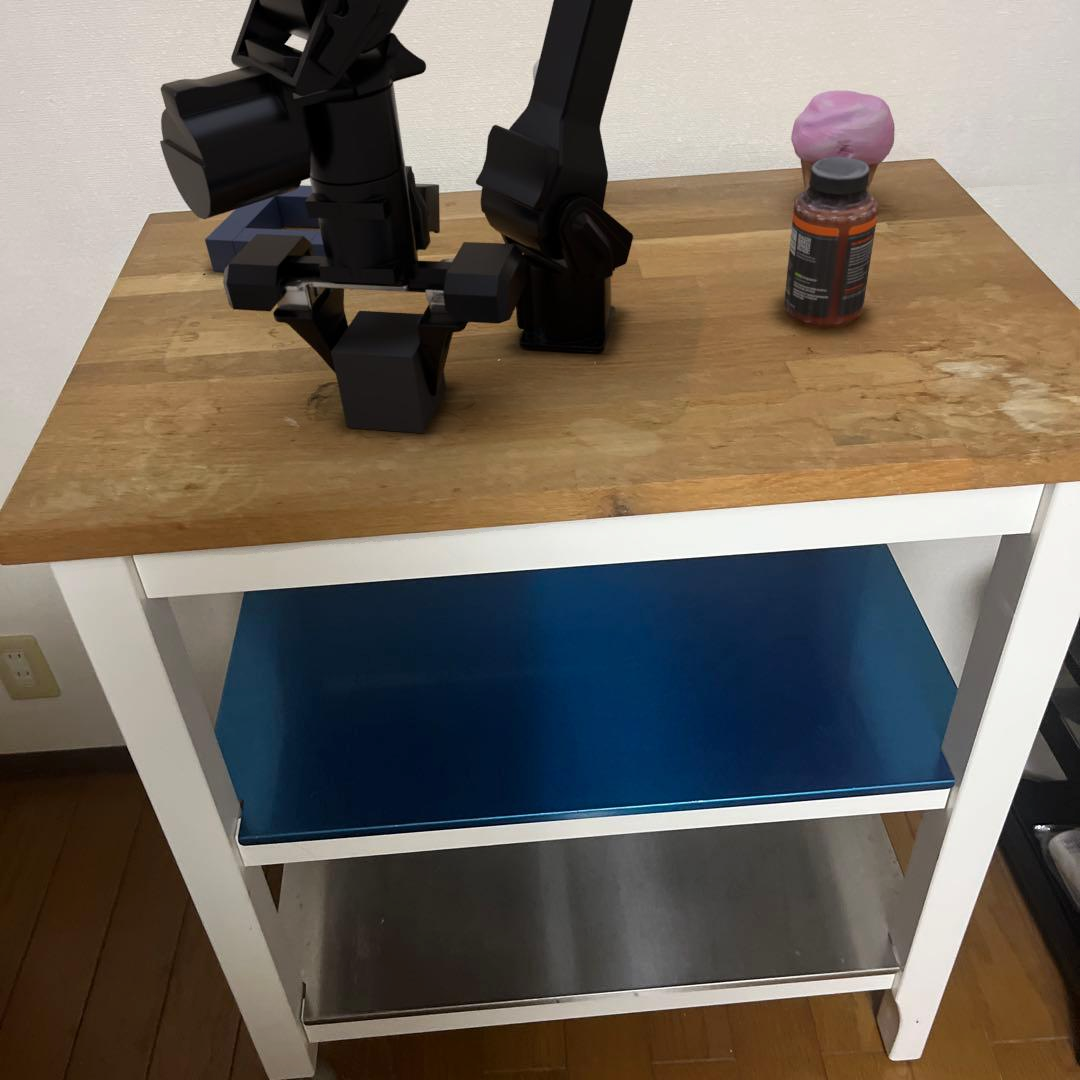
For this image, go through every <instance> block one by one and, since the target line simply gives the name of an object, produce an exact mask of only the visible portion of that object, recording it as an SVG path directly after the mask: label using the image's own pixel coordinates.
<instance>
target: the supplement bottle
mask: <svg viewBox="0 0 1080 1080" xmlns="http://www.w3.org/2000/svg"><path fill="white" fill-rule="evenodd" d="M869 172H870V169H869V166H868V165H867V164H866V163H864V162H862V161H860V160H857V159H853V158H845V157H834V158H826V159H823V160H820V161H818V162H816V163H815V164H814V165H812V169H811V177H810V182H809V184H810V187H809V188H808V189H807V190H806V191H805V190H804V191H802V192H801V193H800V194H799V195H798V197H797V198H796V200H795V202H794V205H793V211H792V221H791V229H790V230H791V231H790V239H789V241H790V242H789V250H788V259H787V260H788V261H787V268H786V269H787V271H786V280H785V289H784V302H783V304H784V305H783V307H784V310H785V313H786V314H787V316H789V317H790V318H791V319H792V320H794V321H795V322H797V323H800V324H803V325H805V326H811V327H815V328H835V327H842V326H845V325H847V324H849V323H852V322H854V321H855V320H857V319H858V318H859V317H860V315H861V314H862V312H863V308H864V303H865V298H866V291H867V286H868V285H867V284H868V278H869V271H870V266H871V265H870V264H871V260H872V252H873V246H874V240H875V232H876V227H877V219H878V210H879V207H878V201H877V200H876V198H875V196H874V195H873V194H872V193H871V192H869V190H868V191H866V188H867V186H868V184H869V182H868V178H869Z"/></svg>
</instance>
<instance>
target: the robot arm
mask: <svg viewBox="0 0 1080 1080" xmlns="http://www.w3.org/2000/svg"><path fill="white" fill-rule="evenodd" d="M409 2H410V0H250V3H249V6H248V9H247V12H246V14H245V17H244V19H243V22H242V26H241V28H240V31H239V34H238V37H237V39H236V41H235V45H234V48H233V51H232V53H231V56H230V60H231V63H232V65H233V66H235V67H237V69H233V70H229V71H225V72H221V73H218V74H214V75H210V76H206V77H202V78H195V79H193V78H183V79H182V78H181V79H178V80H174V81H170V82H165V83H162V85H161V86H160V88H159V89H160V93H161V96H162V100H163V105H164V106H165V107H164V108H165V109H164V110H163V111H162V113H161V118H160V128H161V129H160V130H161V134H162V135H161V136H162V140H160V141H159V144H160V147H161V152H162V154H163V158H164V160H165V163H166V166H167V169H168V172H169V174H170V176H171V178H172V181H173V183H174V185H175V188H176V189H177V191H178V193H179V194H180V196H181V198H182V200H183V201H184V203H185V204H186V205H187V207H188V208H189V210H190V211H191V212H192V213H193V214H194V215H195V216H196V217H197V218H199V219H201V220H207V219H211V218H213V217H217V216H219V215H222V214H226V213H229V212H233V211H234V210H235V209H238V208H241V207H244V206H247V205H251V204H254V203H257V202H260V201H263V200H266V199H269V198H272V197H275V196H278V195H281V194H284V193H288V192H291V191H294V190H296V189H298V188H299V186H300V185H302V182H303V181H305V180H309V181H310V186H311V187H312V192H313V193H312V194H311V195H310V196H309V197H308V198H307V200H306V201H305V204H306V209H307V214H308V218H318V221H319V226H320V228H319V231H321V236H322V241H323V246H324V251H325V256H326V257H322V256H314V253H313V248H312V243H311V242H310V241H309V240H308V239H307V238H306V237H304V236H296V235H270V234H256V235H255V236H254V237H253V238H252V240H251V241H250V242H249V243H248V244H247V245H246V246H245V247H244V248H243V249H242V250H241V251H240V252H239V253H238V254H237V255H236V257H235V258H234V259H233V260H232V261H231V262H230V263H229V264H228V266H227V267H226V268H225V271H224V272H223V278H222V279H223V280H222V284H223V286H224V290H225V294H226V299H227V301H228V305H229V306H230V308H231V309H232V310H234V311H235V310H236V311H254V312H269V313H270V312H272V310H273V309H274V308H275V307H276V306H277V307H276V308H275V309H274V311H273V312H272V314H273V315H272V316H273V318H274V320H275V322H277V323H280V324H281V323H282V324H286V325H288V326H289V327H290V328H291V329H292V330H294V332H295V333H296V334H297V335H299V337H300V338H302V339H303V340H304V341H305V342H306V343H307V344H308V345H309V346H310V347H311V348H312V349H313V350H314V351H315V352H316V353H317V354H318V355H319V356H320V358H321V359H322V360H323V361H324V362H325V363H326V365H327V366H328V367H329V368H330V370H331V371H332V372H333V373H334V374H335V375H336V373H335V369H334V364H333V359H332V354H331V351H332V350H333V348H334V347H335V345H336V344H337V342H338V341H339V339H340V338H341V337H342V335H343V334H344V332H345V331H346V329H347V328H348V326H349V324H348V319H347V316H346V311H345V290H362V291H363V290H364V291H383V292H384V291H385V292H386V291H387V292H404V293H405V292H406V293H425V298H426V301H428V304H427V307H426V308H425V310H424V312H423V313H422V314H423V315H422V317H421V319H420V320H419V322H418V324H417V327H418V333H419V340H420V346H421V353H422V360H423V366H424V373H425V379H426V383H427V386H428V389H429V391H430V394H431V396H436V395H437V393H438V391H439V389H440V385H441V381H442V377H443V373H444V374H445V368H446V365H447V360H448V355H449V351H450V347H451V342H452V339H453V335H454V333H459V332H463V331H464V330H465V329H466V328H467V325H468V324H469V323H479V324H496V325H499V324H503V323H505V322H507V321H510V320H511V319H512V316H513V314H514V312H516V313H515V314H516V326H517V328H518V329H519V330H522V333H521V334H520V337H519V339H518V344H519V347H520V348H521V349H532V350H548V351H566V352H579V353H580V352H581V353H582V352H583V353H603V352H604V351H605V349H606V346H607V343H608V340H609V336H610V333H611V329H612V327H613V323H614V320H615V317H616V307H615V306H614V305H612V277H613V275H614V274H613V273H614V271H615V270H616V269H618V268H620V267H622V266H625V265H626V264H627V263H628V259H629V255H630V251H631V248H632V244H633V240H634V234H633V233H632V232H631V231H629V230H628V229H627V228H626V227H625V226H624V225H623V224H621V223H620V222H619V221H618V220H617V219H615V218H614V217H613V216H612V215H610V214H609V213H608V212H607V211H606V210H605V209H604V206H605V199H606V192H607V188H608V187H607V185H608V181H609V180H608V179H609V171H608V166H607V165H608V164H607V160H606V155H605V149H604V144H603V138H602V133H601V123H602V117H603V113H604V110H605V106H606V102H607V98H608V95H609V91H610V88H611V84H612V81H613V77H614V74H615V70H616V66H617V62H618V58H619V54H620V51H621V46H622V43H623V39H624V37H625V32H626V28H627V24H628V21H629V17H630V13H631V10H632V6H633V2H634V0H553V1H552V6H551V10H550V15H549V18H548V23H547V27H546V31H545V35H544V39H543V43H542V48H541V52H540V56H539V58H540V60H539V64H538V68H537V72H536V77H535V81H534V80H533V86H532V90H531V92H530V93H531V94H530V98H529V100H528V103H527V106H526V107H525V109H524V110H523V112H521V114H520V115H519V116H518V117H517V119H516V120H515V121H514V122H513V123H512V125H511V126H510V127H509V129H508V128H505V127H503V126H500V125H498V124H493V125H492V126H491V129H490V131H489V132H488V135H487V141H486V142H487V143H486V153H485V158H484V162H483V166H482V169H481V171H480V173H479V175H478V176H477V178H476V180H475V184H476V185H477V186H479V187H482V188H481V194H480V209H481V212H482V213H483V214H484V216H485V218H486V220H487V222H488V224H489V226H491V227H492V228H493V229H494V230H495V231H496V232H498V233H499V234H500V236H501V238H502V240H503V243H502V242H479V241H478V242H476V241H463V242H462V244H461V245H460V247H459V249H458V251H457V253H456V255H455V256H454V258H453V257H448V258H444V259H441V260H439V261H437V260H436V261H435V260H419V254H418V251H426V250H427V249H428V248H429V246H430V244H431V234H430V233H434V234H440V232H441V223H440V222H441V219H440V218H441V217H440V216H441V215H440V184H437V183H416V178H415V173H414V172H413V166H412V165H406V161H405V156H404V148H403V143H402V142H403V141H402V135H401V128H400V127H401V126H400V121H399V114H398V105H397V100H396V99H397V98H396V91H395V84H394V83H396V82H397V81H398V82H399V81H401V80H405V79H409V78H413V77H416V76H420V75H422V74H424V73H425V71H427V64H426V61H425V60H424V59H422V58H420V57H419V56H417V55H416V54H414V53H413V52H412V51H411V50H409V49H408V48H407V47H406V46H405V45H404V44H403V42H401V41H400V40H399V38H398V37H397V35H396V34H395V33H394V32H392V30H393V28H395V25H397V22H398V20H399V19H400V16H401V15H402V13H403V12H404V10H405V9H406V6H408V3H409ZM292 36H295V37H298V38H300V39H302V40H305V41H306V43H305V45H304V48H303V50H300V49H297V48H295V47H293V46H290V45H287V44H286V43H287V42H288V41H289V40H290V39H291V37H292Z"/></svg>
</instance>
